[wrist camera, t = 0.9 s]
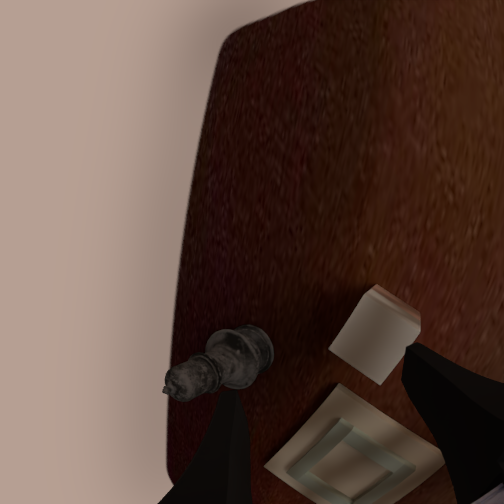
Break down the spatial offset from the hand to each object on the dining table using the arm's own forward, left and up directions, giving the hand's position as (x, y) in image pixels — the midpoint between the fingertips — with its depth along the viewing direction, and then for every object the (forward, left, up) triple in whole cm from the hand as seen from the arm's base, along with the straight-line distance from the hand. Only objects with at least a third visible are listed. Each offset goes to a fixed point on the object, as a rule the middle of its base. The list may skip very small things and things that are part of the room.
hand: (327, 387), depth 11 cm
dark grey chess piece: (+8, +10, -14) cm, 19 cm away
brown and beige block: (-1, 0, -14) cm, 14 cm away
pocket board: (-8, +14, -14) cm, 21 cm away
